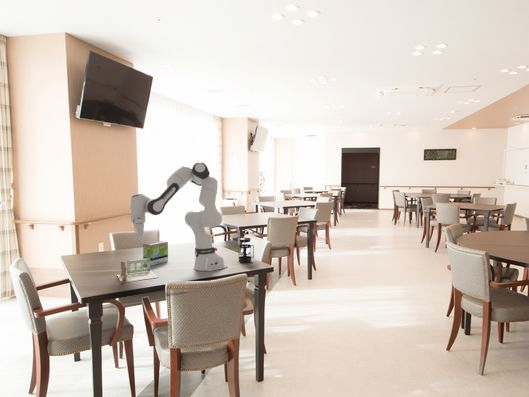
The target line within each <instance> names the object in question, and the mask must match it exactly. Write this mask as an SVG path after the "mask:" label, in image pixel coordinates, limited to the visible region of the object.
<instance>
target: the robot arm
mask: <svg viewBox="0 0 529 397" xmlns="http://www.w3.org/2000/svg"><path fill="white" fill-rule="evenodd" d="M210 175H211V174H210V171H209V167H208V166H207V164H206V163H205V162H203V161H197V162H196V163H195V164H194V165H193V166H192V168H191V167H189V166H187V165H182V166H181V167H179V168H178V169H176V170H175V171H174V172H173V173H172V174H171V175H170V176H169V177H168V178H167V180H166V185H167V187H166V189H165V190H164V191H163V192H162V193H161V194H160V195H159V196H158V197H156V198H151V197H148V196H146V195H145V194H144V193H138V194H137V193H136V194H134V195H131V197H130V211H131V212H130V223H132V224H133V231H134V233H135V234H136V241H139V242H140V241H141V236H144V232H145V230H144V229H145V223H146V213H148V214H151V215H152V216H158V215H159V216H160V214H162V213H163V212H164V210H165V207H166V205H167V204H168V202H170V200H172V198H174V196H175V195H176V193H178V192H179V191H180V190H181V189H182V188H183V187H185V185H186V184H187V183H189V182H190V183H192V184H195V186H196V185H197V186H199V187H200V186H201V188H200V192H199V196H198V197H199V198H198V202H199V204H200V205H201V206H202V207H203V209H202V210H201V209H200V210H197V209H196V210H190V211H187V212H186V213H185V215H184V220H185V223H186V225H187V226H189V227H190V229H191V230H192V232H193V234H194V240H195V248H194V256H195V258H194V260H195V261H194V266H193V270H194V271H201V272H212V271H217V270H221V269H226V268H228V264H226V263H225V262H224V257H222V255H219V254H218V253H217V251H218V249H219V248H217V247H214V246H213V236H212V234H211V233H210V232H208V231H207V230H206V228H214V227H219V226H221V224H222V221H223V217H222V214H221V212H219V210H218V209H217V207H216V206H217V205H216V202H217V201H216V200H217V193H218V180H217V179H216V178H215V177H212V176H210Z"/></svg>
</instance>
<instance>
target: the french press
mask: <svg viewBox="0 0 529 397" xmlns="http://www.w3.org/2000/svg"><path fill="white" fill-rule="evenodd" d="M241 231H242V232H243V234H244V236H243V237H240V238H238V240H239V242H240V243H242V244H239V245H238V249H242V251H239V252H238V255H239V256H238V263H239V262H240V263H239V264H250V263H252V259H254V258H255V246H254V245H253V244H252V245H251V244H248V243H250V242H251V239H252V238H251V237H245V236H246V232H248V229H242V230H241ZM247 249H252V252H251V251H247ZM251 255H252V256H251Z"/></svg>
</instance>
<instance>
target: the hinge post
mask: <svg viewBox="0 0 529 397" xmlns="http://www.w3.org/2000/svg"><path fill="white" fill-rule="evenodd" d="M124 266H126V261H125V260H123V261H120V274H118V275H120V276H122V267H124ZM126 275H127V273H126Z"/></svg>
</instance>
